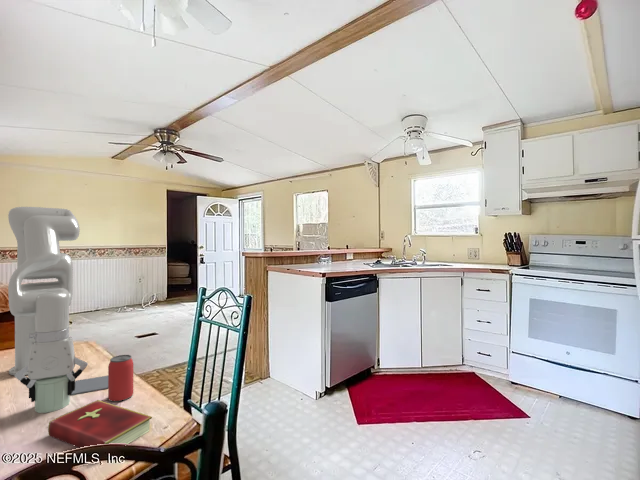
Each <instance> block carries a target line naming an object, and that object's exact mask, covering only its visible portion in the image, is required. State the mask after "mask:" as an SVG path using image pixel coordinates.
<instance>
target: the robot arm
mask: <svg viewBox="0 0 640 480" xmlns="http://www.w3.org/2000/svg"><path fill="white" fill-rule="evenodd" d="M7 215H8V216H7V217H8V224H9V226H10V229H11V231H12V233H13V234H14V237H15V240H16V244H17V246H16V247H17V248H16V250H17V252H16V253H17V254H16V255H17V256H16V257H17V259H16V261H17V262H16V263H17V268H16V269H15V270H14V271H13V273H12V274H11V276H10V278H9V281H8V287H7V290H8V292H7V294H8V308H9V311H10V313H11V315H12V316H14V366H12V367H11V368H9V370H8V374H9V375H11V376H14V378H16V379H17V380H18V381H19V382H20V383H21V384H22V385H24V386H25V387H26V388H27V389H28V399H30V402H31V403H35V382H36V380H38V379H45V378H51V377H58V376H64V375H66V376H67V377H68V378H69V382H68V395H70V396H72V395H71V394H72V392H73V391H75V382H76V379H77V378H79V376H80V375H81V374H82V373H83V371H84V370H85V369H86V368H87V366H88V365H89V363H88V362H87V361H84V360H83V359H80V358H78V357H76V356H75V355H76V353H75V347H74V346H75V345H74V341H73V338H72V336H70V306H71V305H72V300H73V289H74V288H73V287H74V285H73V284H74V265H73V260H72V259H73V258H72V257H71V256H70V255H69V254H68V253H62V252H61V249H60V248H61V247H60V242H61V241H62V242H63V241H65V242H66V241H67V242H69V241H70V242H71V241H76V240H77V239H78V238H79V236H80V230H81V229H80V224H79V221H78V219H77V217H76V216H75V214H73V211H71V210H70V209H68V208H57V207H41V206H17V207H13V208H11V209H10V210H9V211H8V214H7ZM45 279H47V280H48V279H49V280H50V279H57V281H56V280H55V281H42V282H40V281H39V282H27V283H24V284H22V283H23V280H31V281H32V280H45ZM76 365H77V366H79V368H78V369H77V370H76V371H75V370H74V368H75V367H76Z"/></svg>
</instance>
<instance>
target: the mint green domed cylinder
mask: <svg viewBox="0 0 640 480" xmlns="http://www.w3.org/2000/svg"><path fill="white" fill-rule="evenodd" d="M68 382H69V378H68V377H67V376H66V375H64V376H58V377H51V378H45V379H38V380H36V382H35V401H34V412H36V413H39V414H45V413H52V412H55V411H58V410H61V409H63V408H65V407H67V406H69V404H70V401H71V395H68Z"/></svg>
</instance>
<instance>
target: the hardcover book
mask: <svg viewBox="0 0 640 480" xmlns="http://www.w3.org/2000/svg"><path fill="white" fill-rule="evenodd" d="M152 418H153V416H151V415H148V414H144V413H141V412H138V411H135V410H131V409H128V408H125V407H121V406H118V405H116V404H112V403H109V402H105V401H103V400H99V399H97V400H95V401H92V402H90V403H88V404H86V405H83V406H81V407H79V408H76V409H74V410H72V411H69V412H67V413H65V414H63V415H61V416H58V417H56V418H53V419H52V420H49V422H48V427H47V431H48V433H47V434H48V436H49V437H52V438H54V439H56V440H59V441H60V442H63V443H66V444H69V445H71V446H73V445H75V446H74V447H76V448H78V449H80V447H84V446H90V445H97V444H109V443H126V444H127V445H128V444H131V443H132V442H133V441H135V440H137V439H139V438H140V437H142V436H143V435H145V434H147V433H149V432H150V421H151V420H152Z"/></svg>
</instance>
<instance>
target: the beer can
mask: <svg viewBox="0 0 640 480" xmlns="http://www.w3.org/2000/svg"><path fill="white" fill-rule="evenodd" d="M132 358H133V357H132V355H131V354H120V355H116V356H113V357H111V358H110V361H109V363H108V369H107V370H108V371H107V376H108V391H107V392H108V393H107V395H108V396H107V398H108V401H111V402H115V403H116V402H122V400H123V401H125V399H126V400H127V399H130V398H131V397H132V396H133V395H134V360H133V359H132Z"/></svg>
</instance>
